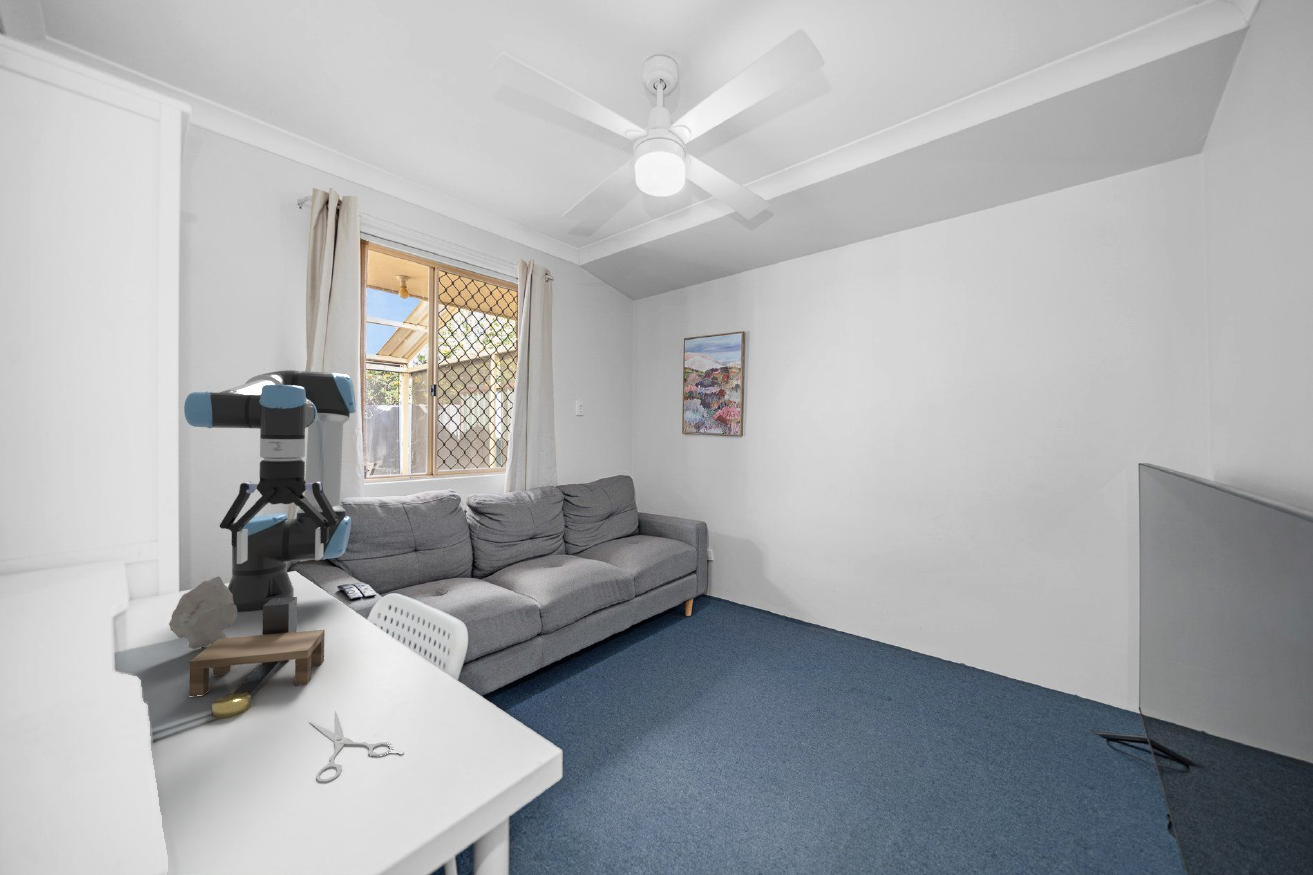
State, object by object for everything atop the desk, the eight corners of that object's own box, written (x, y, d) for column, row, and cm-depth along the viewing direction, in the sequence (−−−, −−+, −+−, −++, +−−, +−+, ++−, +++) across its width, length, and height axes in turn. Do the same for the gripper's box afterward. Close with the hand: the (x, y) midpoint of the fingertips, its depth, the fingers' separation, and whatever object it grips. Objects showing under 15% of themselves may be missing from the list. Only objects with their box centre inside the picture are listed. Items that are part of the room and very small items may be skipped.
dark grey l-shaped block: (271, 654, 106) (272, 598, 106) (296, 652, 107) (297, 596, 107) (223, 704, 87) (224, 636, 87) (254, 700, 88) (255, 633, 88)
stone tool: (168, 658, 103) (169, 586, 103) (169, 652, 106) (170, 581, 105) (237, 643, 110) (238, 576, 110) (236, 638, 113) (237, 572, 113)
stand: (218, 671, 98) (218, 638, 98) (324, 660, 104) (324, 629, 104) (189, 697, 89) (189, 661, 89) (307, 684, 94) (307, 650, 94)
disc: (221, 705, 87) (221, 694, 87) (255, 701, 89) (255, 690, 88) (205, 722, 82) (205, 710, 82) (242, 717, 84) (242, 705, 84)
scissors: (324, 789, 67) (283, 727, 80) (324, 795, 68) (283, 731, 80) (404, 752, 76) (356, 701, 89) (404, 757, 76) (356, 705, 89)
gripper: (198, 460, 96) (197, 568, 97) (346, 461, 104) (344, 561, 105) (218, 457, 103) (217, 558, 104) (355, 458, 111) (354, 552, 112)
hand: (281, 560), depth 104 cm, fingers open, 13 cm apart
